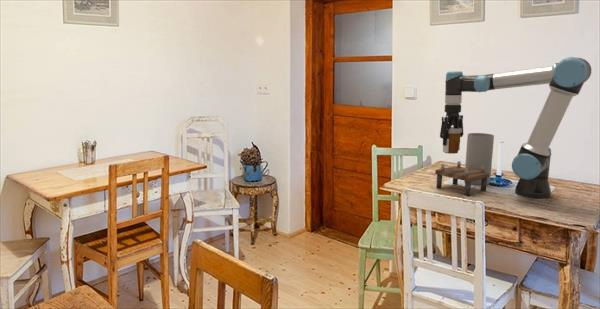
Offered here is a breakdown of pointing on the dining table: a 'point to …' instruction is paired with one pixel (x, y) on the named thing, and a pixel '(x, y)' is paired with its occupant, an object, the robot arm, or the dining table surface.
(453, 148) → the disposable coffee cup
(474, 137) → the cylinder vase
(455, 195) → the dining table surface
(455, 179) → the peg shelf stand
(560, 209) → the dining table surface
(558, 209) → the dining table surface
